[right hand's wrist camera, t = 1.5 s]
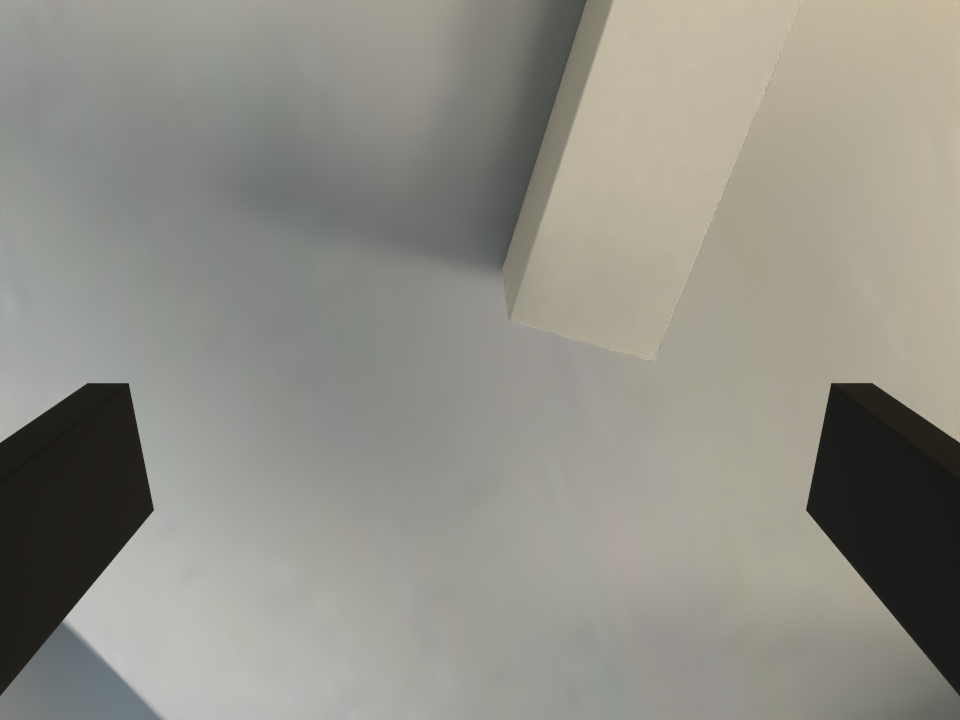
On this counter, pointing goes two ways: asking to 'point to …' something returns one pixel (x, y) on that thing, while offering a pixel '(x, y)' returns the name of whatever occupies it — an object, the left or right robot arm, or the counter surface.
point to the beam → (637, 163)
